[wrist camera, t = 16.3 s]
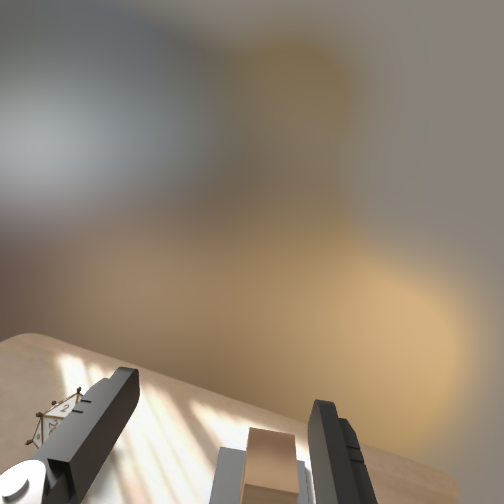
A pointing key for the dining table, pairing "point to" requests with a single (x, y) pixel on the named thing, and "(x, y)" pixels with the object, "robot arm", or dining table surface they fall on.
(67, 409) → the game die
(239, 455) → the rubber mat
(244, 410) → the dining table surface
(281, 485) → the walnut block
